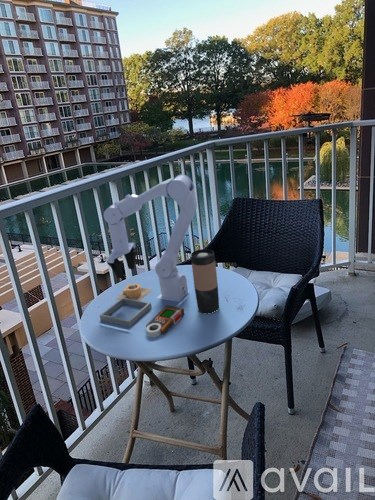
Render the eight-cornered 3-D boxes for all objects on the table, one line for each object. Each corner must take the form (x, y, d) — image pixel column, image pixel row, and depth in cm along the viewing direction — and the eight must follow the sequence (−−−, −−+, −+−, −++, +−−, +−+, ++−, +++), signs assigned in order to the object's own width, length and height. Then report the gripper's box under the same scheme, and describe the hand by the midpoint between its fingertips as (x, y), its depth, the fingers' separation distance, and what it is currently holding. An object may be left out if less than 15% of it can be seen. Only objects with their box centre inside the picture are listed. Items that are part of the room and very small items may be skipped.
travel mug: (224, 306, 123) (219, 251, 116) (210, 316, 118) (203, 260, 111) (207, 300, 128) (201, 247, 121) (192, 310, 123) (185, 255, 116)
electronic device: (141, 329, 112) (167, 303, 124) (142, 336, 114) (168, 310, 125) (159, 333, 109) (184, 306, 120) (160, 341, 110) (185, 314, 122)
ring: (144, 291, 139) (143, 284, 138) (135, 298, 134) (134, 291, 133) (129, 289, 142) (127, 282, 141) (120, 295, 138) (118, 288, 137)
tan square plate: (152, 291, 140) (151, 281, 138) (137, 304, 132) (135, 293, 130) (131, 287, 145) (129, 278, 143) (115, 299, 137) (113, 290, 135)
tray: (151, 308, 127) (150, 302, 126) (130, 328, 117) (129, 321, 116) (123, 303, 133) (122, 297, 132) (101, 321, 123) (99, 315, 122)
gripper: (121, 231, 137) (127, 264, 142) (97, 245, 125) (105, 280, 130) (137, 231, 134) (143, 265, 139) (114, 246, 122) (121, 282, 127)
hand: (125, 273), depth 134 cm, fingers open, 7 cm apart
